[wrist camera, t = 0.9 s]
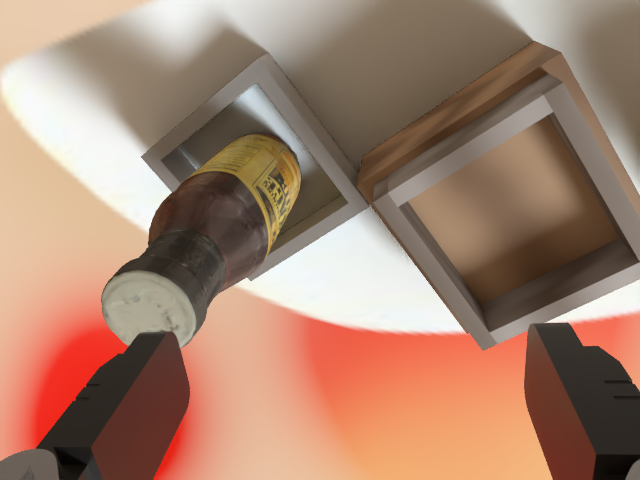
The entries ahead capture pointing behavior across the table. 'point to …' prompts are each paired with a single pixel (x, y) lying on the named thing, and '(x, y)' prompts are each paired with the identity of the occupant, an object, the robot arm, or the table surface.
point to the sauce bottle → (205, 239)
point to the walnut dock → (510, 198)
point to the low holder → (306, 127)
